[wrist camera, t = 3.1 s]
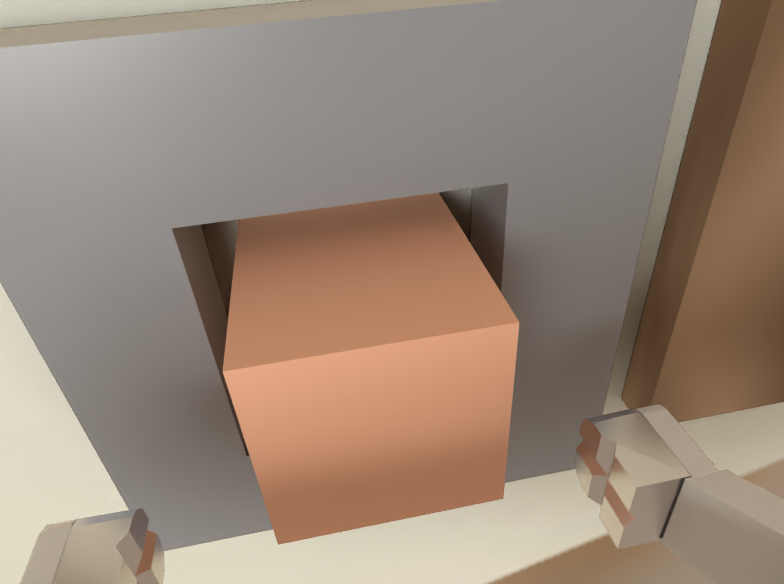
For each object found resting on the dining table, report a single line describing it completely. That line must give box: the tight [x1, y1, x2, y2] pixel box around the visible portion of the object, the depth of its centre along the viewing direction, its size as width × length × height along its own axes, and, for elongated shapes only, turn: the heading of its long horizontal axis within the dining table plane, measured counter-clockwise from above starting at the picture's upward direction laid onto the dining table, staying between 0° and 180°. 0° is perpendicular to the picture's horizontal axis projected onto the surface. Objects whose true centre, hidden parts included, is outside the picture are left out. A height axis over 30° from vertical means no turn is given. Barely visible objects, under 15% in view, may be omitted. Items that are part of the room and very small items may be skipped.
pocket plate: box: [0, 0, 697, 551], centre depth 14 cm, size 14×14×2 cm
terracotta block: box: [223, 192, 519, 544], centre depth 13 cm, size 5×5×6 cm
